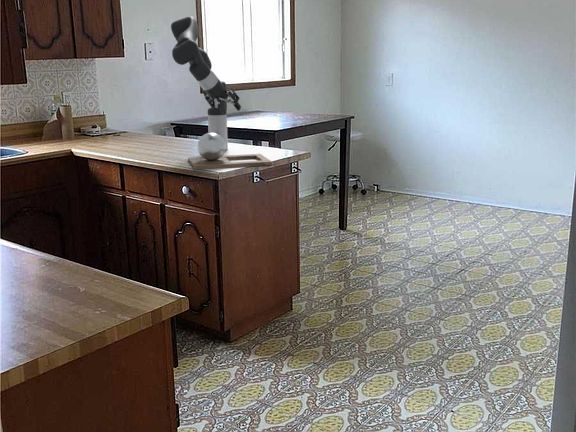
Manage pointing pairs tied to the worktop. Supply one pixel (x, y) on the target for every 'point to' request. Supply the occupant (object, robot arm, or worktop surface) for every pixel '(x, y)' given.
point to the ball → (211, 146)
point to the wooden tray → (225, 163)
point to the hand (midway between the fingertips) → (231, 110)
